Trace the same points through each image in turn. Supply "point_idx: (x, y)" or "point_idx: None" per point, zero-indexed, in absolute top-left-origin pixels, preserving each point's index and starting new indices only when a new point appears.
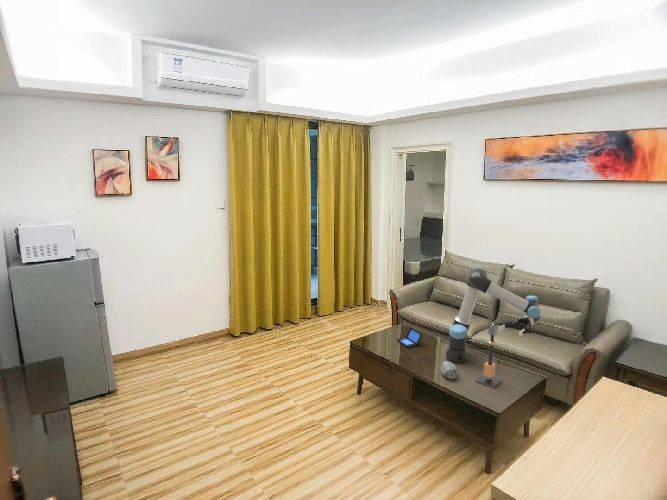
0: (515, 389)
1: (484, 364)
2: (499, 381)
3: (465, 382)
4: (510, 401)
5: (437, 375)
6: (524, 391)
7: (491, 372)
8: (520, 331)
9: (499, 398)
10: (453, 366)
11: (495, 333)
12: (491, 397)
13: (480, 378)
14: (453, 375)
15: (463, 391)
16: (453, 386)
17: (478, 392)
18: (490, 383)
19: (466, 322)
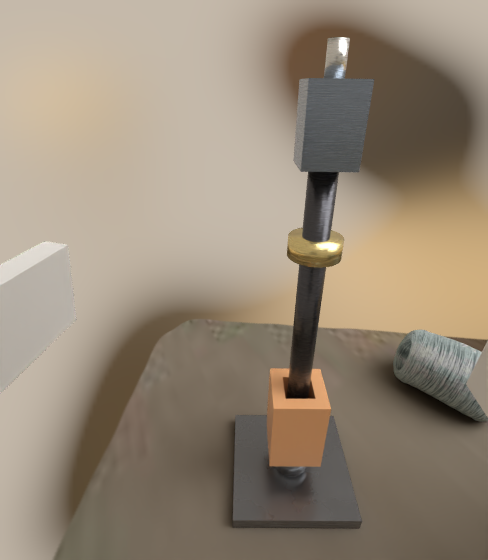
0: (136, 487)
1: (318, 371)
2: (234, 483)
3: (350, 389)
4: (144, 379)
5: None
6: (84, 502)
7: (268, 397)
8: (26, 260)
9: (187, 372)
10: (430, 348)
11: (298, 151)
12: (214, 362)
13: (325, 442)
14: (395, 354)
15: None
16: (353, 344)
17: (267, 361)
18: (261, 430)
19: None
